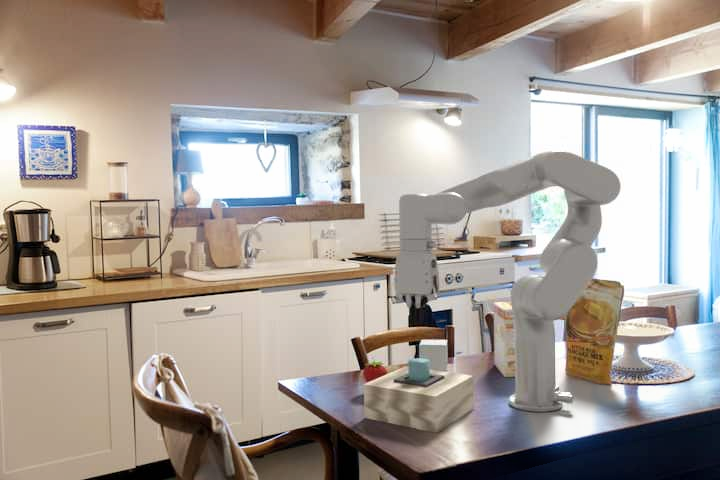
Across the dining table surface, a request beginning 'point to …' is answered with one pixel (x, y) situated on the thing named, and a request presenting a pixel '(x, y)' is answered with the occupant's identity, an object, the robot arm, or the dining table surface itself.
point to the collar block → (419, 399)
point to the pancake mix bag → (593, 331)
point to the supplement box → (435, 354)
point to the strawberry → (374, 371)
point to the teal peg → (419, 369)
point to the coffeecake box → (504, 338)
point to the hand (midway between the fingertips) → (416, 323)
